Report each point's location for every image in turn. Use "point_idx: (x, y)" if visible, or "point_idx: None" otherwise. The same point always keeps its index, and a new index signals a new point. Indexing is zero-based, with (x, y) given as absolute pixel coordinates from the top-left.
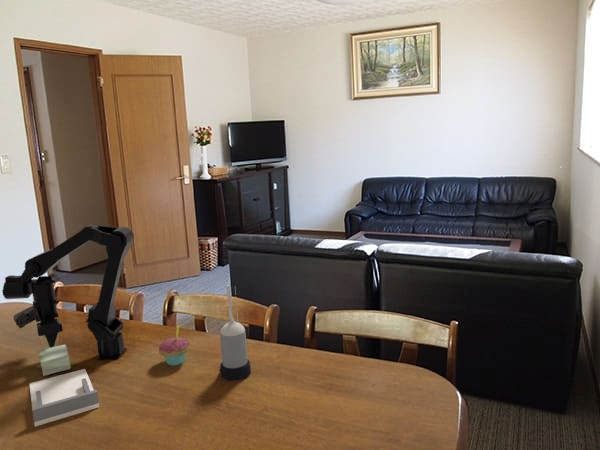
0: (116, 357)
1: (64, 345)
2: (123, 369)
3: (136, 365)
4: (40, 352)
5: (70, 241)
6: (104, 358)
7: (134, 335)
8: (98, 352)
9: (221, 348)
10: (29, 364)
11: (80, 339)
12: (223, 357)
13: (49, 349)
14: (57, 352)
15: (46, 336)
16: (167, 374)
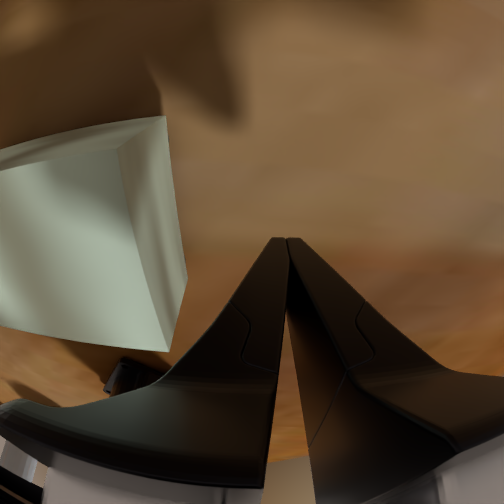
0: (104, 389)
1: (145, 345)
2: (41, 370)
3: (60, 390)
4: (57, 170)
5: None
6: (113, 370)
7: (284, 433)
8: (143, 380)
9: (9, 454)
10: (254, 29)
11: (419, 332)
12: (9, 442)
13: (99, 250)
14: (32, 291)
15: (204, 340)
16: (22, 396)
